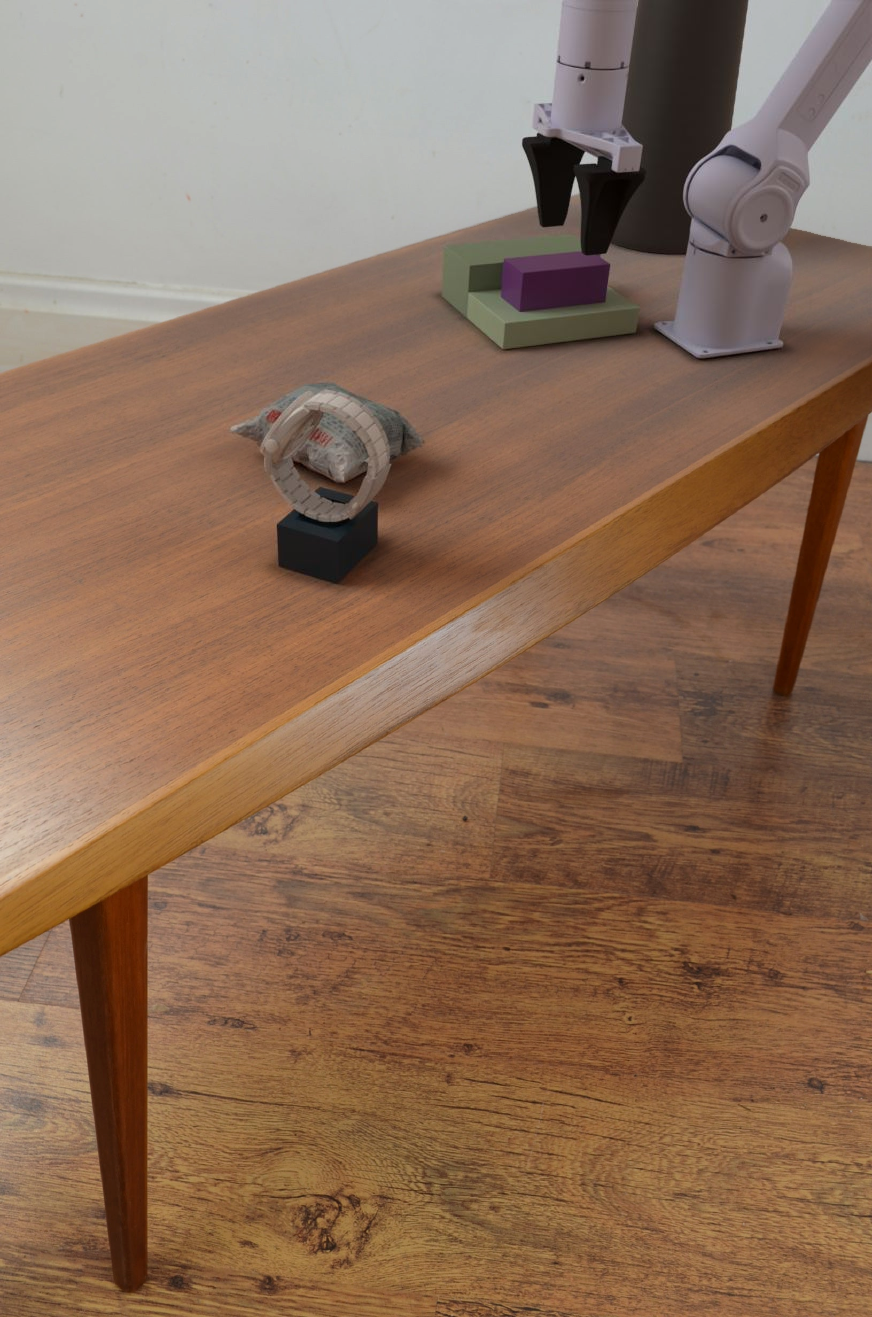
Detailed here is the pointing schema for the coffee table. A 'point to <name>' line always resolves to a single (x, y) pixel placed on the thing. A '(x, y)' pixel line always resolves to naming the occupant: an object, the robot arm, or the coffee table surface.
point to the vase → (677, 109)
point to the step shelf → (478, 298)
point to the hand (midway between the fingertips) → (572, 238)
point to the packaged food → (335, 435)
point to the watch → (325, 489)
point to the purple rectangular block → (554, 280)
